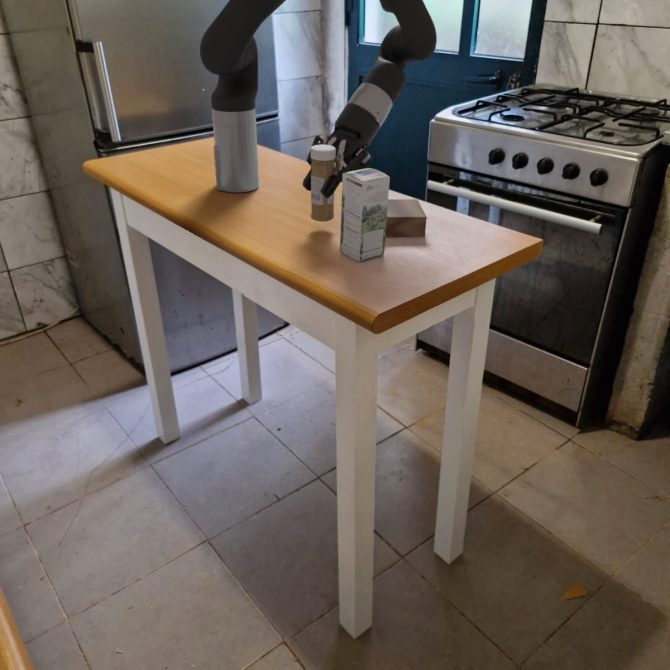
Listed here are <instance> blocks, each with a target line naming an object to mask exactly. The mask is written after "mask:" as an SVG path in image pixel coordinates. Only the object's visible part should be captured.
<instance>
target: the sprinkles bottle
mask: <svg viewBox="0 0 670 670" xmlns="http://www.w3.org/2000/svg"><path fill="white" fill-rule="evenodd" d="M311 146H312V145H311ZM310 149H311V158H312V159H311V160H312V170H311V171H312V172H311V191H310V203H311V208H310V209H311V210H310V211H311V213H310V219H312V220H313V221H317V222H320V223H321V222H330V221H331V220H333V219H334V218H335V214H334V209H335V208H334V206H335V205H334V202H335V192H334V193H333V194H332V195H331V196H330V197H329V198H326V197H324V196H323V195H322V193H321V189H322V187H323V186H324V184H325V183H326V181H327V179H328V178H329V176H330V175H333V170H334V168H335V163H334V161H335V158H336V148H335V147H334V146H331V145H315V146H312V147H310Z"/></svg>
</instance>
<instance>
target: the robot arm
mask: <svg viewBox="0 0 670 670" xmlns="http://www.w3.org/2000/svg"><path fill="white" fill-rule="evenodd" d="M286 1H287V0H228V1H227V3H226V5H225V6H223V8H222V9H221V11H220V13H219V14H218V15H217V16H216V18H215V19H214V20H213V21H212V23H211V24H210V25H209V26H208V27H207V29H206V31H205V32H204V33H203V35H202V37H201V41H200V44H199V55H200V59H201V63H202V65H203V67H204V68H205V69H206V70H207V71H208V72H210V73H211V74H213V75H215V76H216V75H217V76H218V80H217V84H216V87H215V88H214V90H213V92H212V93H211V95H210V97H211V98H210V101H211V115H212V116H211V117H212V126H213V127H212V128H213V138H214V140H213V142H214V146H213V158H214V161H213V162H214V169H215V170H214V173H215V184H216V191H222V192H227V193H245V192H246V193H247V192H252V191H255V190H257V189H258V188H259V187H260V183H259V179H260V178H259V161H258V159H259V158H258V139H257V138H258V136H257V133H258V132H257V117H256V113H257V111H256V97H257V95H258V91H259V55H258V54H259V52H258V47H257V42H256V38H255V36H254V35H255V34H256V32H257V31H258V29H259V28H260V26H261V25H262V24H263V23H264V22H265V21H266V19H267V18H269V17H270V16H271V15H272V14H274V12H275V11H277V10H278V9H279V8H280V7H281V6H282V5H283V4H284V3H285V2H286ZM379 3H380V6H381V8H382V10H383V11H384V12H386V13H392V14H393V15H394V17H395V19H396V20H397V23H398V24H397V25H394V27H392V28H391V29H389V31H388V32H387V33H386V35H385V36H384V38H383V39H382V41H381V43H380V46H379V47H378V48H379V49H378V51H377V53H376V56H375V59H374V62H373V66H372V67H371V69H370V70H369V71H368V72H367V74H366V76H365V77H364V79H363V81H362V82H361V84H360V85H359V86H358V88H357V89H356V90H355V91H354V92H353V94H352V95H351V97H350V99H349V100H348V102H347V103H346V105H345V106H344V107H343V109H342V111H341V112H340V114H339V116H338V117H337V119H336V120H335V122H334V128H333V129H334V130H333V132H331V133H330V134H329V135H328V136H327V137H323V138H322V137H321V136H320V135H316V136H314V138H313V141H312V144H311V147H312V146H315V145H331V146H334V147H335V148H336V158H335V161H334V170H333V175H330V176H329V178H328V179H327V181H326V183H325V184H324V186H323V187H322V189H321V193H322V195H323V196H324V197H326V198H329V197H330V196H331V195H332V194H333V193H334V194H335V192H336V190H337V188H338V187H339V186H340V184H341V183H342V179H343V173H346V172H351V171H356V170H361V169H366V168H367V166H369V164H370V163H371V162H372V161H373V157H372V156H371V154H370V153H369V151H368V150H367V149H366V148H368V147H369V146H370V144H371V142H372V141H373V140H374V138H375V137H376V135H377V134H378V132H379V130H380V128H381V127H382V126H383V124H384V123H385V121H386V120H387V117H388V115H389V114H390V111H391V109H392V107H393V105H394V104H395V103H396V101H397V100H398V98H399V96H400V95H401V93H402V92H403V90H404V88H405V86H406V83H407V82H406V81H407V78H406V74H405V69H406V67H407V66H408V65H409V64H413V63H419V62H424V61H426V60H429V59H430V58H431V57H432V56H433V54H434V52H435V50H436V48H437V41H438V40H437V38H438V37H437V29H436V26H435V23H434V21H433V18H432V16H431V15H430V13H429V11H428V8H427V6H426V4H425V2H424V0H379ZM311 147H310V150H309V152H308V154H307V158H306V163H308V165H309V166H310V169H309V171H308V172H307V174H306V175H305V177H304V178H303V181H302V187H303V188H304V189H305V190H306V191H309V192H311V172H312V171H311V170H312V160H311V159H312V158H311Z"/></svg>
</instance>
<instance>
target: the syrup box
mask: <svg viewBox="0 0 670 670" xmlns="http://www.w3.org/2000/svg"><path fill="white" fill-rule="evenodd" d="M390 180H391V179H390V176H389V175H387V174H386V173H385V172H382V171H380V170H379V169H375V168H370V167H365V168H364V169H361V170H356V171H353V170H351V171H350V172H346V173H343V179H342V182H341V183H342V185H341V210H340V211H341V213H340V237H339V238H340V240H339V245H340V246H339V252H340V253H341V254H343V255H345V256H347V257H349V258H350V259H351V258H352V259H353V260H355V261H357V262H359V263H360V262H364V261H365V262H366V261H368V260H371V259H374V258H378V257H381V256H384V254H385V245H386V237H385V233H386V221H387V208H388V199H389V193H390Z"/></svg>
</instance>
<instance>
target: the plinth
mask: <svg viewBox="0 0 670 670" xmlns="http://www.w3.org/2000/svg"><path fill="white" fill-rule="evenodd" d="M427 218H428V217H427V215H426V212H425V211H424V209H423V208H422V205H421V204H420V202H419V200H418V199H417V198H416V199H415V198H414V199H413V198H412V199H409V198H408V199H407V198H405V199H400V198H398V199H396V198H395V199H394V198H393V199H391V198H388V208H387V221H386V233H385V238H426V227H427Z"/></svg>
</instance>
